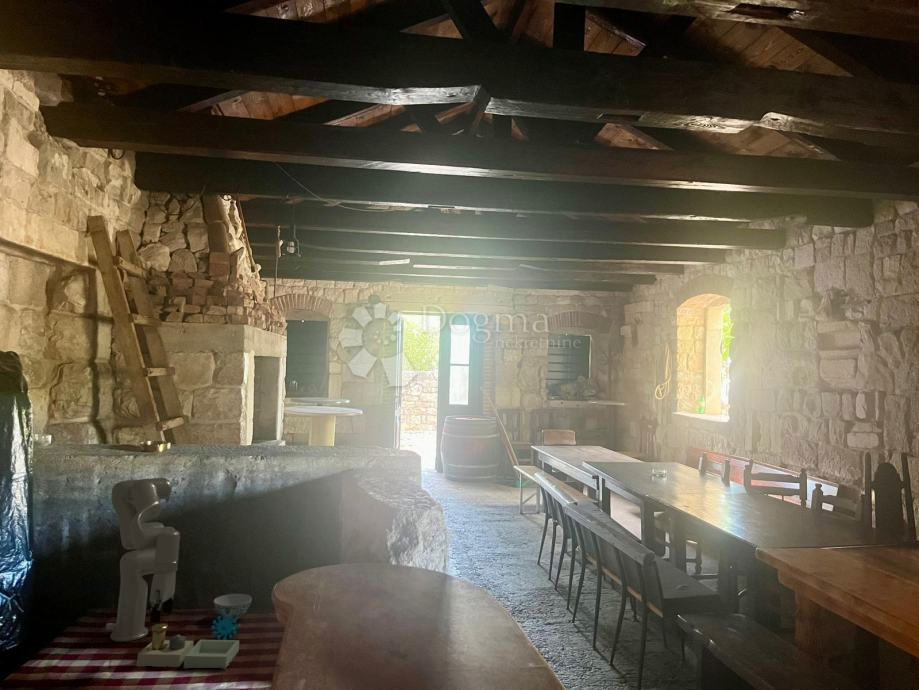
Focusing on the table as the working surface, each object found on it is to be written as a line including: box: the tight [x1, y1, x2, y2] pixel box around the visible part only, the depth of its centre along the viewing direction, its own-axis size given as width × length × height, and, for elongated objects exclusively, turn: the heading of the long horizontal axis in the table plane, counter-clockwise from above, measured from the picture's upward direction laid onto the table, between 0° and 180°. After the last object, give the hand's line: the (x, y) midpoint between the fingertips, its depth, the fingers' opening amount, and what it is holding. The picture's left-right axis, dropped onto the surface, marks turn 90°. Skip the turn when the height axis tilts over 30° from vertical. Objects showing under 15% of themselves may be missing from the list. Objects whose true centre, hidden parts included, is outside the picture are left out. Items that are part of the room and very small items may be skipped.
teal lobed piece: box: [210, 614, 242, 640], centre depth 225 cm, size 11×6×10 cm
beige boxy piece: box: [136, 634, 194, 668], centre depth 203 cm, size 14×12×8 cm
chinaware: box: [213, 593, 253, 621], centre depth 243 cm, size 15×15×8 cm
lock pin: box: [150, 622, 169, 650], centre depth 203 cm, size 5×5×11 cm
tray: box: [183, 639, 240, 670], centre depth 204 cm, size 14×14×4 cm
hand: (161, 617), depth 203 cm, fingers open, 9 cm apart
